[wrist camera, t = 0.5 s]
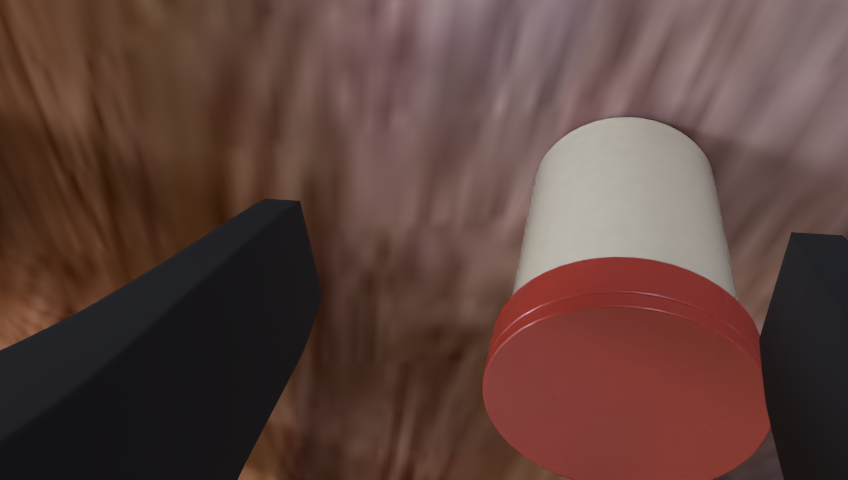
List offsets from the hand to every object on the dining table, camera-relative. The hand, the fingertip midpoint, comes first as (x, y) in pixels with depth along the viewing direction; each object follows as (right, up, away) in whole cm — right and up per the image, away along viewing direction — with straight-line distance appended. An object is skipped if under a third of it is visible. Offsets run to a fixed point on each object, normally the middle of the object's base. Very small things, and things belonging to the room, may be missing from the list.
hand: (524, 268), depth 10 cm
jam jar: (+4, +2, +10) cm, 11 cm away
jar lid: (+3, -3, +4) cm, 5 cm away
